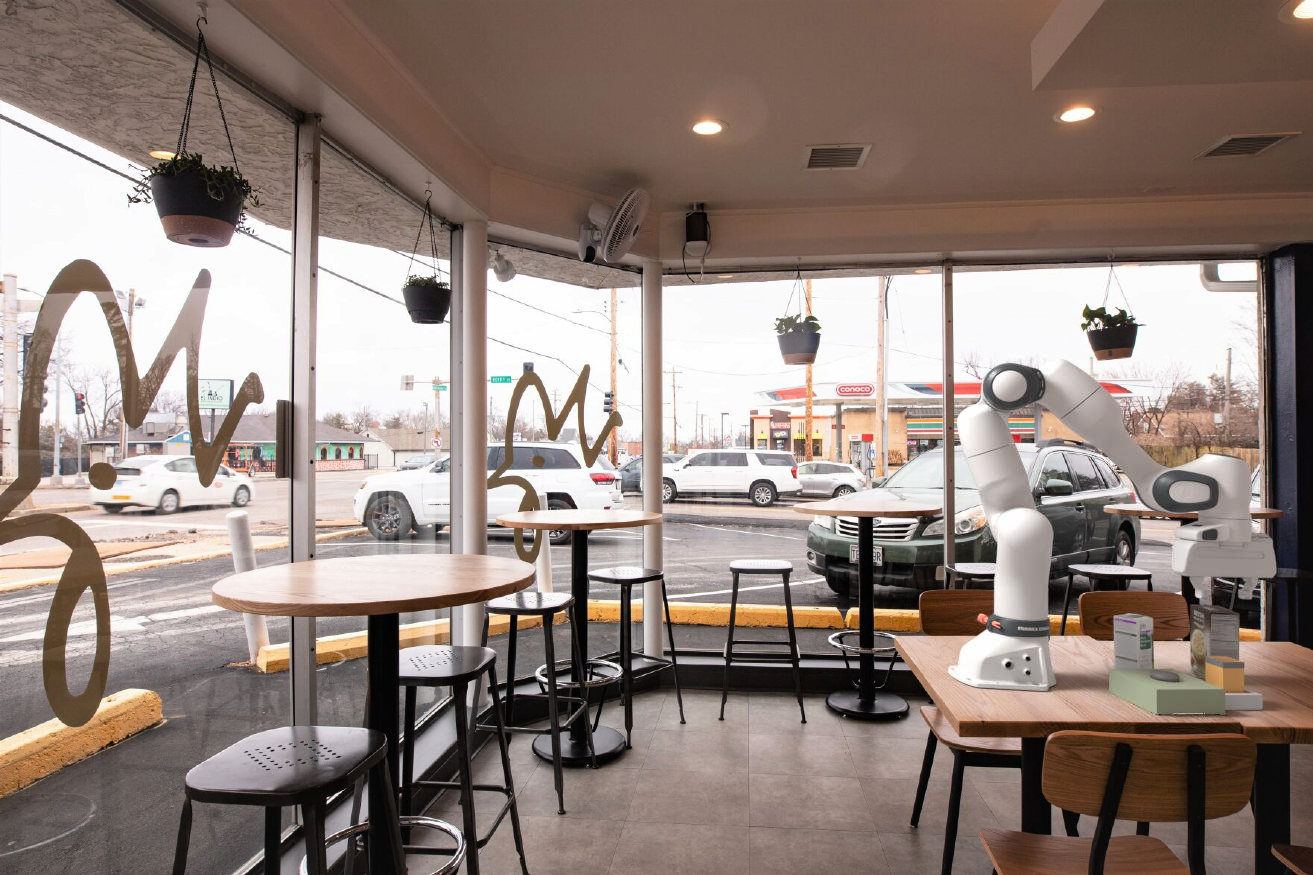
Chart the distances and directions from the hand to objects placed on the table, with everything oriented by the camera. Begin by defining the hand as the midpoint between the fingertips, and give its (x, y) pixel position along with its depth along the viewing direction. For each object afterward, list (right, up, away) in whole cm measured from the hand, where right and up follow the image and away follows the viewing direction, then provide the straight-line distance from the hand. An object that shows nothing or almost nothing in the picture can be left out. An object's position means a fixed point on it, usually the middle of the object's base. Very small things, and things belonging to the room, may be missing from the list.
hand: (1223, 598), depth 154 cm
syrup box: (-9, -22, +15) cm, 28 cm away
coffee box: (+11, -22, +17) cm, 30 cm away
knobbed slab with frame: (-8, -21, -1) cm, 23 cm away
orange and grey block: (0, -22, -1) cm, 22 cm away
